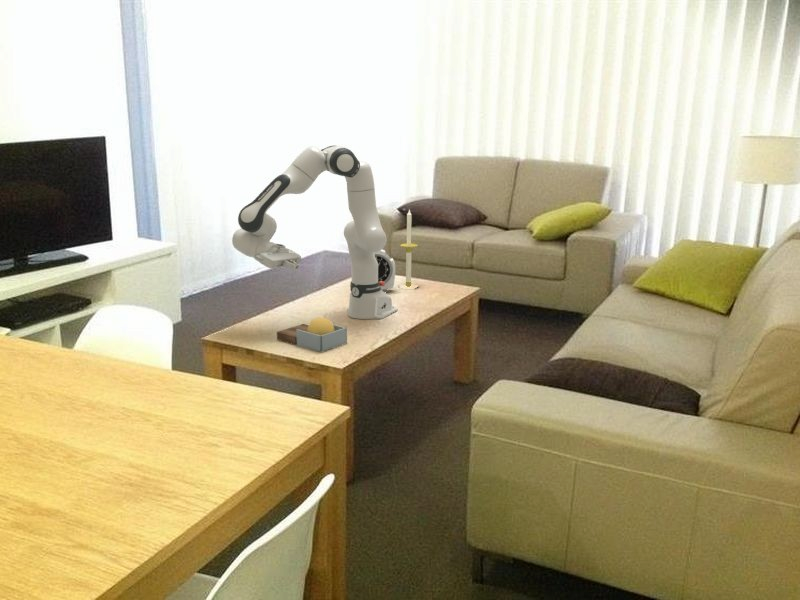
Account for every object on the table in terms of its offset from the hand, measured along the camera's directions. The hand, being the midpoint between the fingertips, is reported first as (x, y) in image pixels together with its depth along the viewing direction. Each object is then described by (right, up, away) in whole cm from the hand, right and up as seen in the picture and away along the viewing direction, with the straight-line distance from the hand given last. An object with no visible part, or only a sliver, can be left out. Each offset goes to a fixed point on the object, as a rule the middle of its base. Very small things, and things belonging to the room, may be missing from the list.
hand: (297, 267), depth 305 cm
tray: (+10, -29, -6) cm, 31 cm away
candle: (+43, -6, +80) cm, 91 cm away
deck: (+1, -27, +1) cm, 27 cm away
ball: (+10, -24, -9) cm, 27 cm away
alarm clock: (+28, -9, +71) cm, 76 cm away
